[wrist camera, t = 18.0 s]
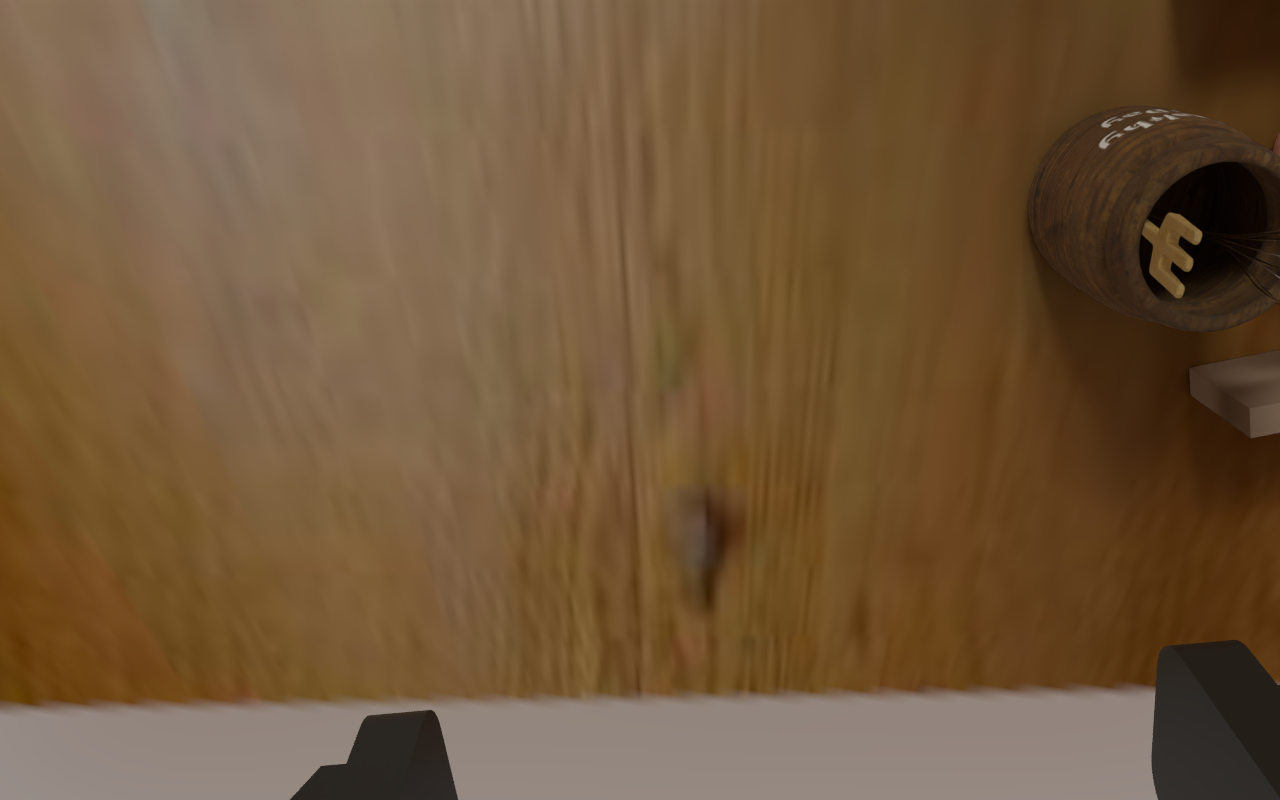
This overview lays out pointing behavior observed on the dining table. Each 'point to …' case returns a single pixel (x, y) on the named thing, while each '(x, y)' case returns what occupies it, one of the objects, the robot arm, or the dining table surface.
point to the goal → (1242, 391)
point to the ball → (1277, 145)
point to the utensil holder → (1162, 217)
